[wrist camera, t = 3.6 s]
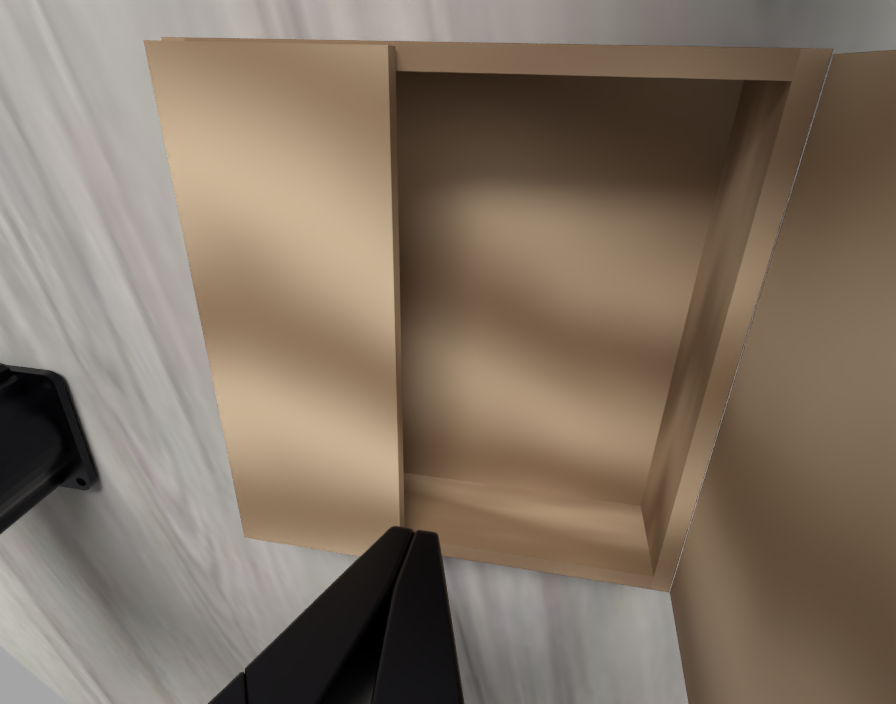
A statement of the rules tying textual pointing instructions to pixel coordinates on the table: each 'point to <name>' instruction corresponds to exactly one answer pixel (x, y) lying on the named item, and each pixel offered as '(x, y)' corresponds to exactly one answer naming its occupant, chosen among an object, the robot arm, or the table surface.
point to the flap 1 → (295, 274)
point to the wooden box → (580, 285)
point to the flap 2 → (809, 438)
